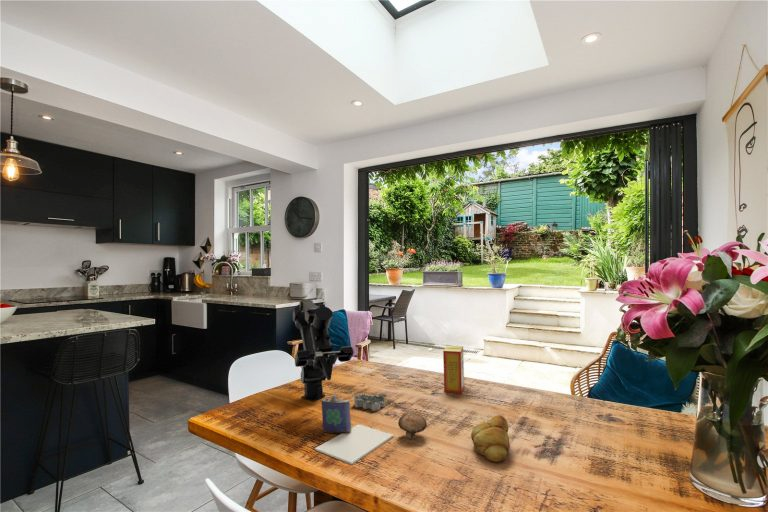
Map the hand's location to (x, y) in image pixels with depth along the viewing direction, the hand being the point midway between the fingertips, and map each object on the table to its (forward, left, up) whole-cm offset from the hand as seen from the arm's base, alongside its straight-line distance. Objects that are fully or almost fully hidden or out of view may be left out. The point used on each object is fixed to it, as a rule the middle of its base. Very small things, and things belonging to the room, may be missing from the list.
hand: (329, 379), depth 118 cm
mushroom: (+27, +6, -13) cm, 31 cm away
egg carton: (+2, +17, -14) cm, 22 cm away
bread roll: (+48, +9, -14) cm, 51 cm away
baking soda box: (+19, +50, -13) cm, 55 cm away
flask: (+7, -4, -13) cm, 15 cm away
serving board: (+16, -6, -13) cm, 22 cm away
